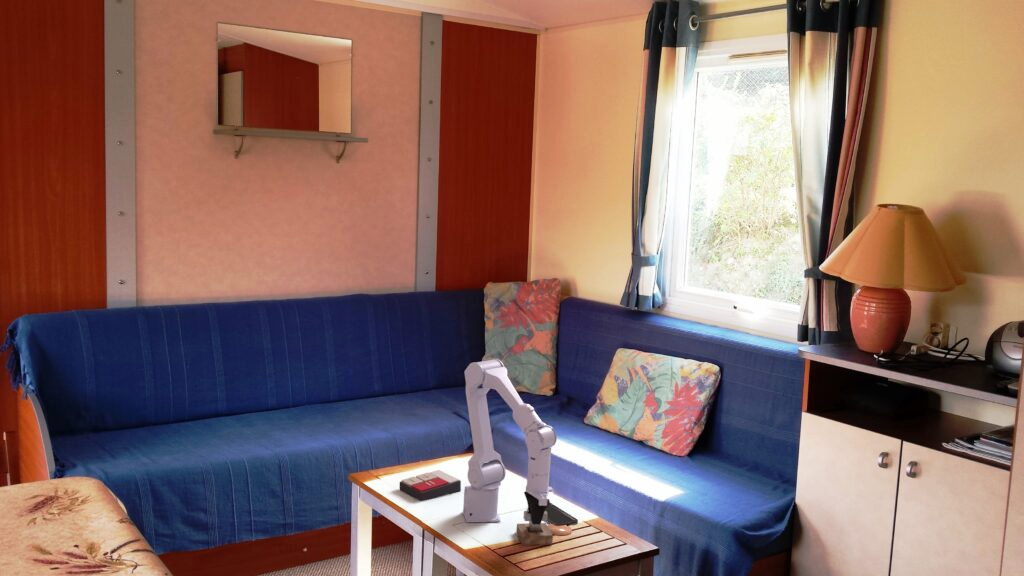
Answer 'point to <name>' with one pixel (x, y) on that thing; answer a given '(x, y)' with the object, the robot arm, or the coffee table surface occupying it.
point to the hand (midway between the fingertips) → (535, 521)
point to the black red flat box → (430, 485)
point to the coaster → (559, 529)
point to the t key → (534, 527)
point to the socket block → (534, 535)
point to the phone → (559, 516)
